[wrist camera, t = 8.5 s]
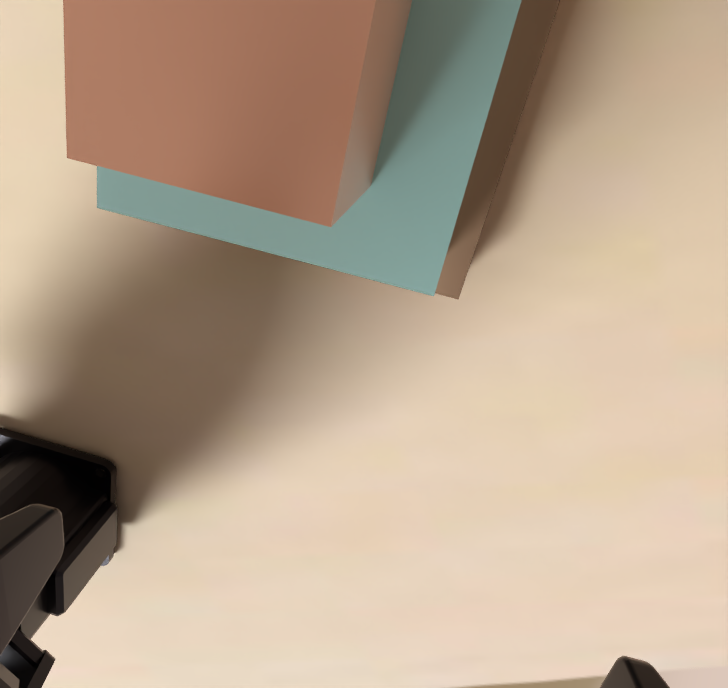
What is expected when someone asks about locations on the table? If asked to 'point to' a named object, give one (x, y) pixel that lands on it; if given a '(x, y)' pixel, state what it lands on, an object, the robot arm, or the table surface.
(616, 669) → the robot arm
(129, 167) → the terracotta cube
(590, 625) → the table surface
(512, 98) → the tower base
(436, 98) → the tower top
